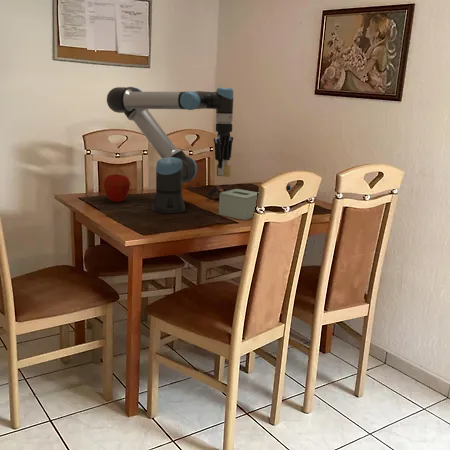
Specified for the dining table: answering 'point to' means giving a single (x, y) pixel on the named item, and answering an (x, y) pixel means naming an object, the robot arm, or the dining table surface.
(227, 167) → the beige flat block
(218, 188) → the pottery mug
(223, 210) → the coin box
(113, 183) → the apple
